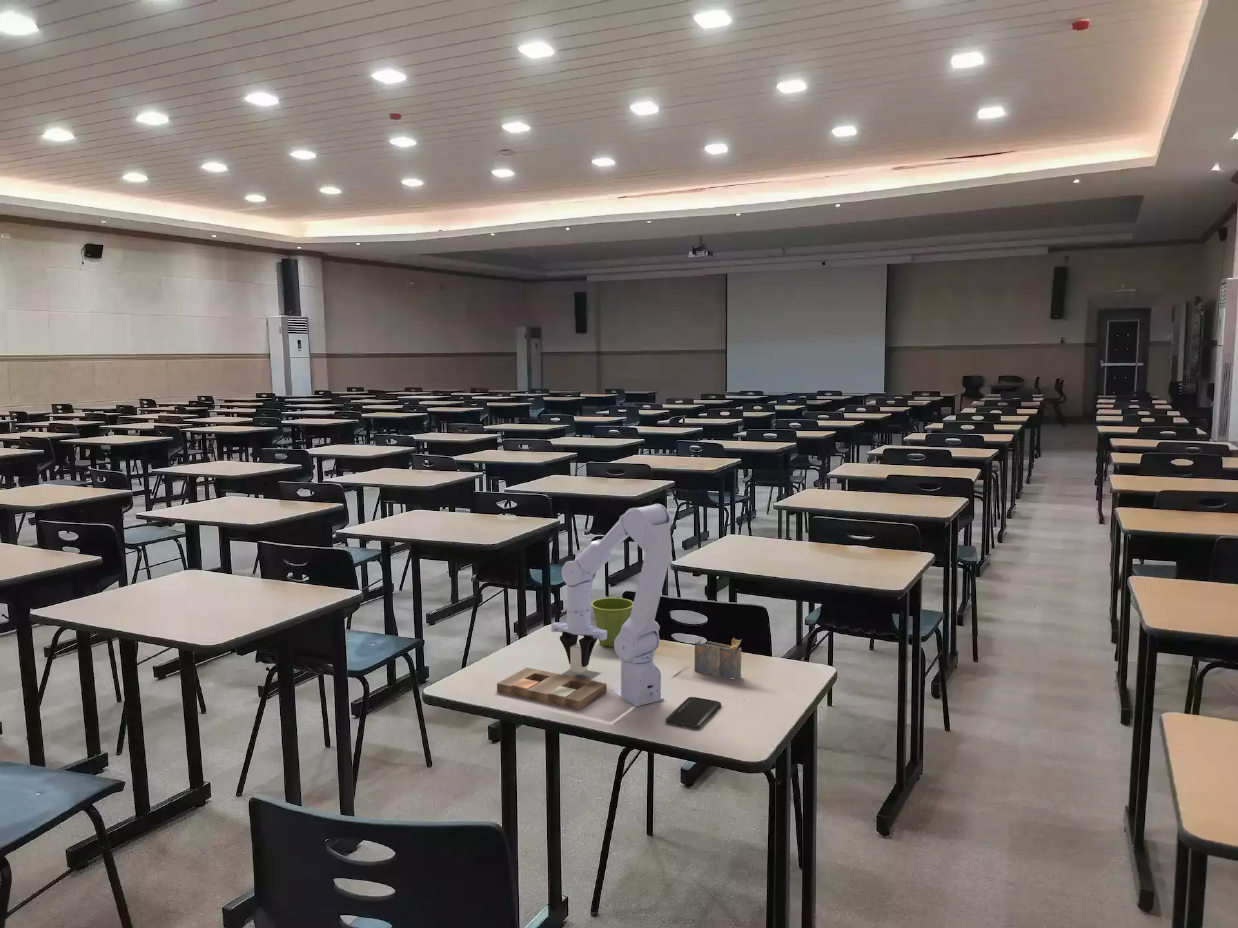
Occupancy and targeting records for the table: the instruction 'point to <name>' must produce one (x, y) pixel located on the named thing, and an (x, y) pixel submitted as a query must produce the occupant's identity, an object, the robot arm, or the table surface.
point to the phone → (693, 713)
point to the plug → (576, 659)
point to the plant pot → (611, 616)
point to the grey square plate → (582, 674)
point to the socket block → (552, 688)
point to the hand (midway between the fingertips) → (578, 664)
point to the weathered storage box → (718, 659)
